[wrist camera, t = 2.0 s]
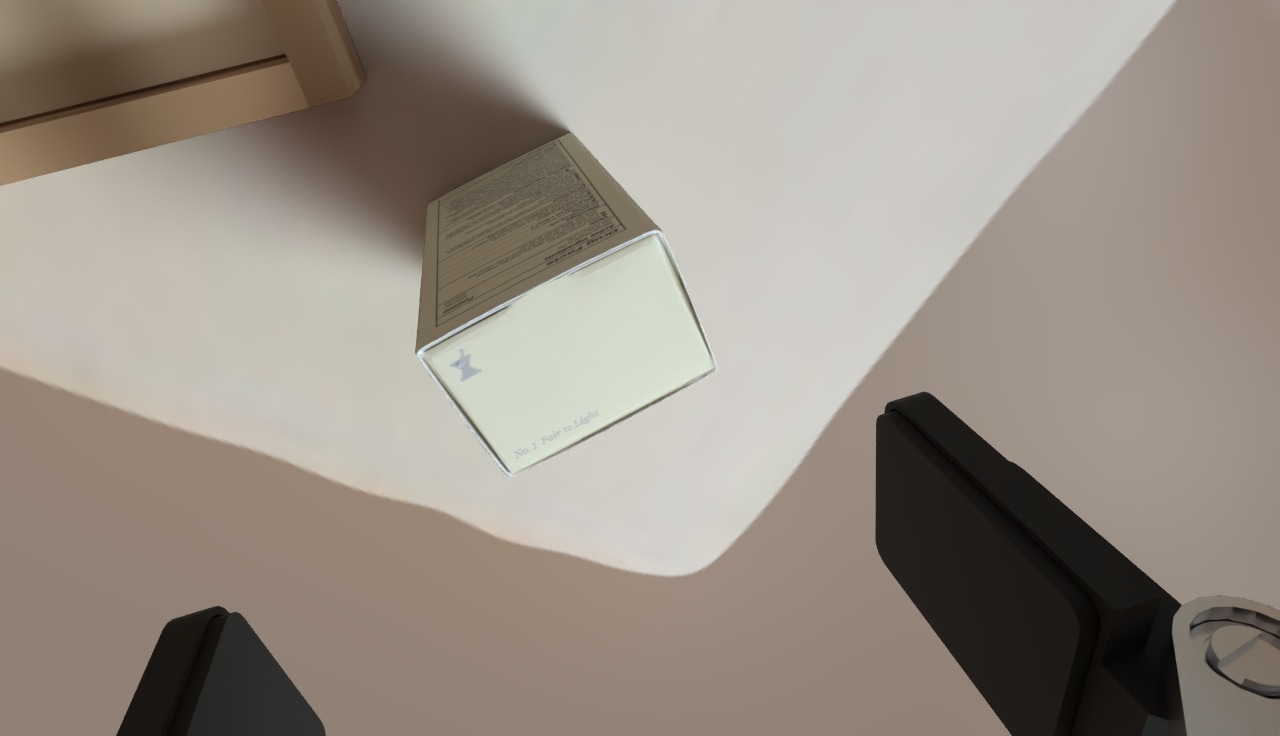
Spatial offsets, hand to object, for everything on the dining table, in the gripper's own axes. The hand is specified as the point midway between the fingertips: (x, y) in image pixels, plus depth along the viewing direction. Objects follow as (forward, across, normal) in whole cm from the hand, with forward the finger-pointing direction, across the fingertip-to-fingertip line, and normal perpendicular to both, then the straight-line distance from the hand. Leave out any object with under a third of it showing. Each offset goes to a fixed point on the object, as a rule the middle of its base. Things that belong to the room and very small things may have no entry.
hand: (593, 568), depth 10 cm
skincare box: (+19, -1, 0) cm, 19 cm away
